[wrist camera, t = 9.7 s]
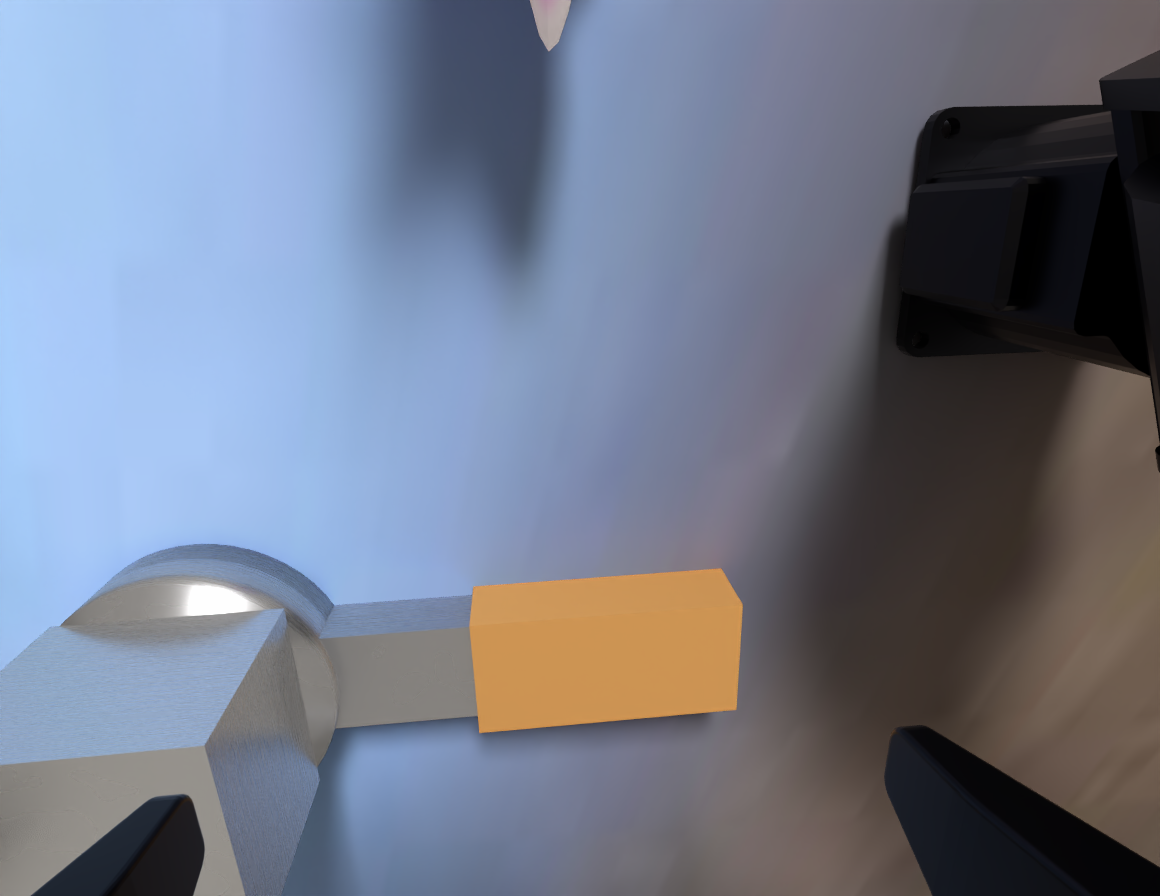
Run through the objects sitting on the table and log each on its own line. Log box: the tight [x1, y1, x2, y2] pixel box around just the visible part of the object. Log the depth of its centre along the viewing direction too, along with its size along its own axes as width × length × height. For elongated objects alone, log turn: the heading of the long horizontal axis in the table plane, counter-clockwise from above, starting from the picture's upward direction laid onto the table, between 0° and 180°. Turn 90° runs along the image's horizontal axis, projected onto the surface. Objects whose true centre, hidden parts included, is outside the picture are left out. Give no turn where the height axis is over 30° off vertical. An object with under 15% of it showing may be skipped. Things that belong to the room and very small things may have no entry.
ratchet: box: [61, 544, 743, 767], centre depth 19 cm, size 20×8×5 cm, turn 92°
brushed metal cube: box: [0, 608, 320, 896], centre depth 17 cm, size 6×6×5 cm
